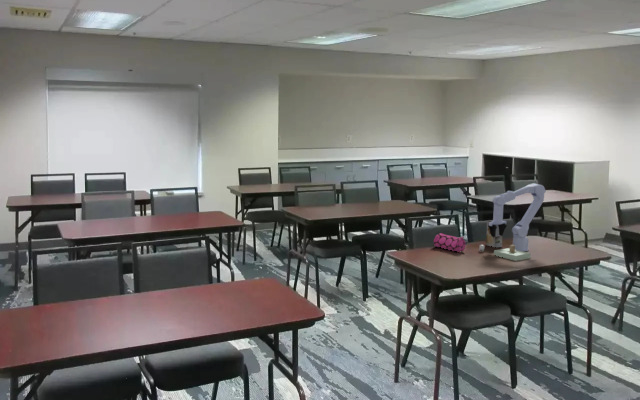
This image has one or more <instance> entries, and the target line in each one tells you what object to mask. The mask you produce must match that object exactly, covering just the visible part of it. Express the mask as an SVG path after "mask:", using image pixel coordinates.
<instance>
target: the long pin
mask: <svg viewBox="0 0 640 400" xmlns="http://www.w3.org/2000/svg"><path fill="white" fill-rule="evenodd" d="M509 248H510V252H511V253H515V245H513V244H510V245H509Z"/></svg>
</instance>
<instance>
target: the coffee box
mask: <svg viewBox="0 0 640 400" xmlns="http://www.w3.org/2000/svg"><path fill="white" fill-rule="evenodd" d="M492 221H493V220H490V221H486V237H485V239H486V240H485V246H487V247H488V246H489V247H491V246H492V247H491V248H495V247H496V248H502V247H503V236H500V235H499V227H498V225H495V226H496V227H497V228H496V232H495V237H492V236H491V232H490V229H489V227H488V225H489V222H492Z"/></svg>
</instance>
